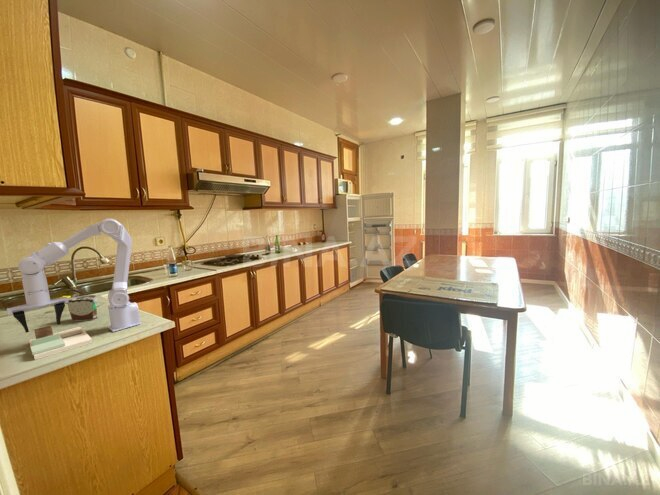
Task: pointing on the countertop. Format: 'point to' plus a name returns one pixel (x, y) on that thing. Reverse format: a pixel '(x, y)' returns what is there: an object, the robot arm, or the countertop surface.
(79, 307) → the food container
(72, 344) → the puzzle board
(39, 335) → the walnut block
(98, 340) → the countertop surface
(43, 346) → the lid
